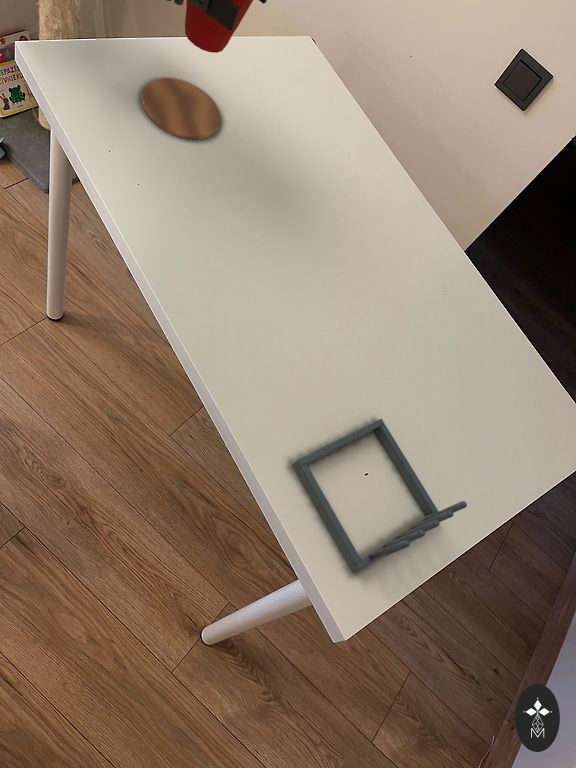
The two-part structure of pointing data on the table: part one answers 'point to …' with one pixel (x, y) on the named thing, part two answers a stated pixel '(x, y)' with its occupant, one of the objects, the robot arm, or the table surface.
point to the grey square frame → (410, 479)
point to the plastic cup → (210, 27)
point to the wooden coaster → (180, 108)
